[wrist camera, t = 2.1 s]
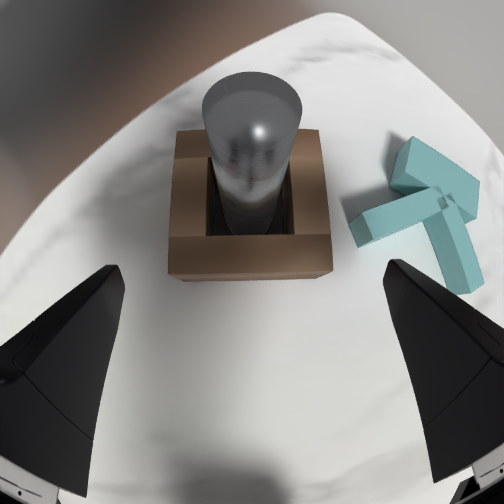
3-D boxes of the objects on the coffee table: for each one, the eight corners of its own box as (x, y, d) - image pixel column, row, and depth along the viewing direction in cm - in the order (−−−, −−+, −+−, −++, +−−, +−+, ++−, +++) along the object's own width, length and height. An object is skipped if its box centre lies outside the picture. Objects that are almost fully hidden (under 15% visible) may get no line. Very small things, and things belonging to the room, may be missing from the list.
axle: (281, 212, 22) (320, 102, 10) (252, 248, 22) (261, 165, 9) (245, 185, 23) (245, 60, 10) (215, 219, 22) (181, 112, 9)
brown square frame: (315, 278, 21) (333, 270, 17) (183, 281, 21) (168, 274, 17) (306, 159, 23) (318, 129, 19) (188, 161, 23) (177, 131, 19)
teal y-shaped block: (459, 301, 21) (481, 299, 18) (342, 240, 22) (355, 230, 19) (477, 203, 23) (495, 194, 20) (375, 139, 24) (388, 122, 21)
